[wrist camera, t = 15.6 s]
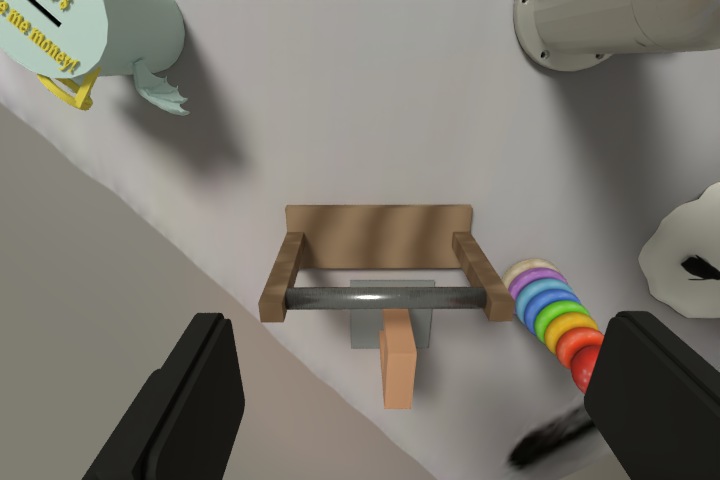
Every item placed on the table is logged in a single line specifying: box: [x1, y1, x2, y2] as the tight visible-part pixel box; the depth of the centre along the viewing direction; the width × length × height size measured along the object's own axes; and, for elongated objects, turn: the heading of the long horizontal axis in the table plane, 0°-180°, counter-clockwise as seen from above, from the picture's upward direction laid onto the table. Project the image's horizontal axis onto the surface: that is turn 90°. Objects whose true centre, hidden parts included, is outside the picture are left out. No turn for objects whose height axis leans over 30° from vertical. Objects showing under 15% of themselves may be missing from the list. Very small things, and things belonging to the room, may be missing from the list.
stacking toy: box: [502, 259, 604, 394], centre depth 43 cm, size 8×8×19 cm
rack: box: [258, 205, 516, 322], centre depth 41 cm, size 22×8×16 cm, turn 90°
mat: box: [350, 280, 434, 348], centre depth 53 cm, size 11×11×1 cm
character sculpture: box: [0, 0, 190, 116], centre depth 33 cm, size 20×12×13 cm, turn 44°
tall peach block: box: [379, 309, 417, 409], centre depth 47 cm, size 3×8×12 cm, turn 179°
